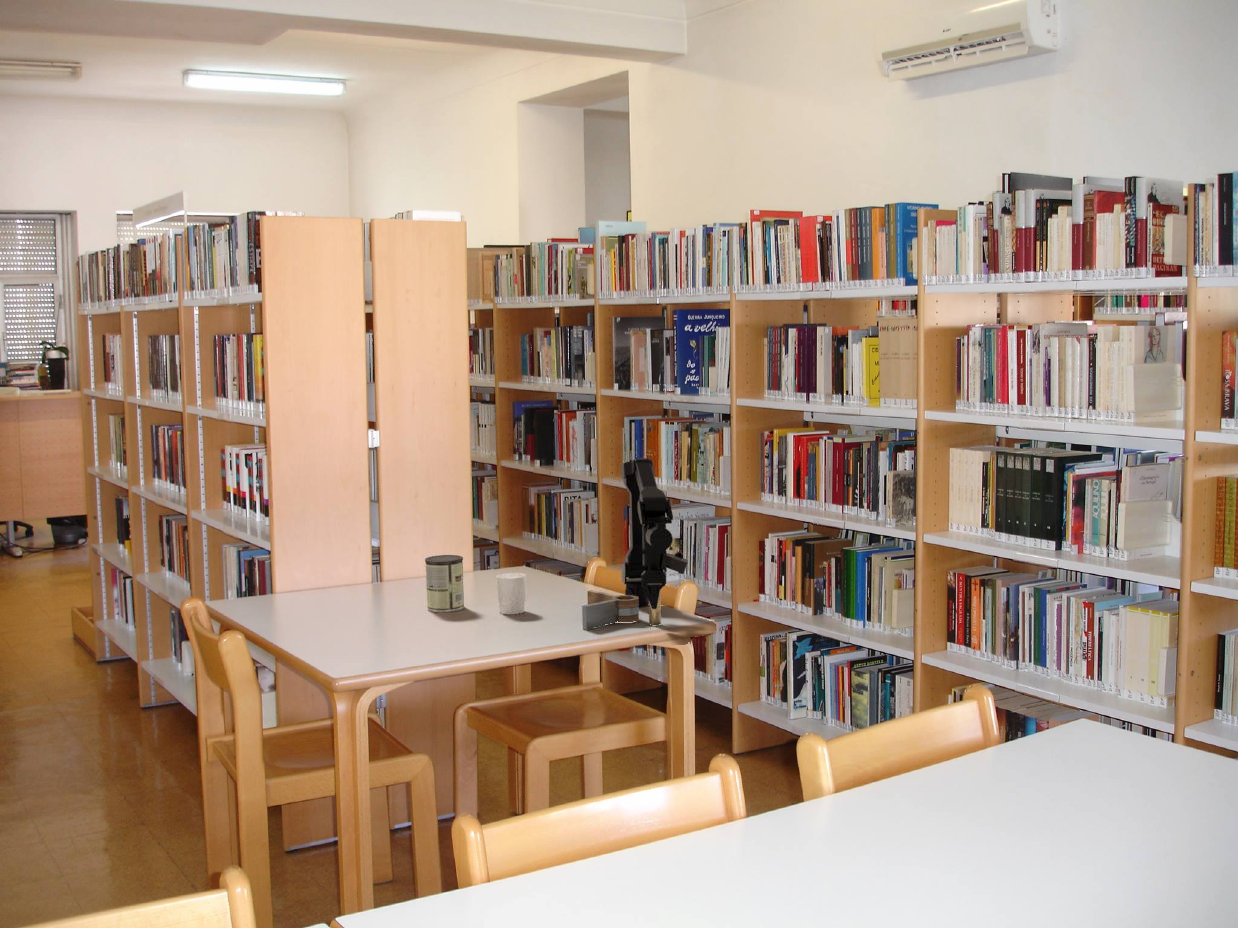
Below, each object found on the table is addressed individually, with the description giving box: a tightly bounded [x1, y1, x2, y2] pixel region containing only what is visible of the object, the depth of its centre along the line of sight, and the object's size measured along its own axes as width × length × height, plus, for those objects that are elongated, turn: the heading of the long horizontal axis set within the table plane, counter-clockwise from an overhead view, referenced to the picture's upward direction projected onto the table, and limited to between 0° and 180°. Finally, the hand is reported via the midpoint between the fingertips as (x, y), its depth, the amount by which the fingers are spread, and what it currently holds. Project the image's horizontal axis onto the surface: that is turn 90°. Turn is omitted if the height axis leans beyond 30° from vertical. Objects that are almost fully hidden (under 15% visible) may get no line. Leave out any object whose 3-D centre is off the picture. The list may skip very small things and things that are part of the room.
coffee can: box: [424, 554, 465, 613], centre depth 325 cm, size 10×10×14 cm
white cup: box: [496, 572, 527, 615], centre depth 319 cm, size 8×8×10 cm
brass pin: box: [648, 593, 662, 625], centre depth 301 cm, size 3×3×8 cm
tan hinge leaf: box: [586, 589, 640, 622], centre depth 310 cm, size 18×7×6 cm, turn 42°
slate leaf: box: [581, 600, 640, 630], centre depth 303 cm, size 18×7×6 cm, turn 132°
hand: (654, 605), depth 301 cm, fingers open, 9 cm apart
